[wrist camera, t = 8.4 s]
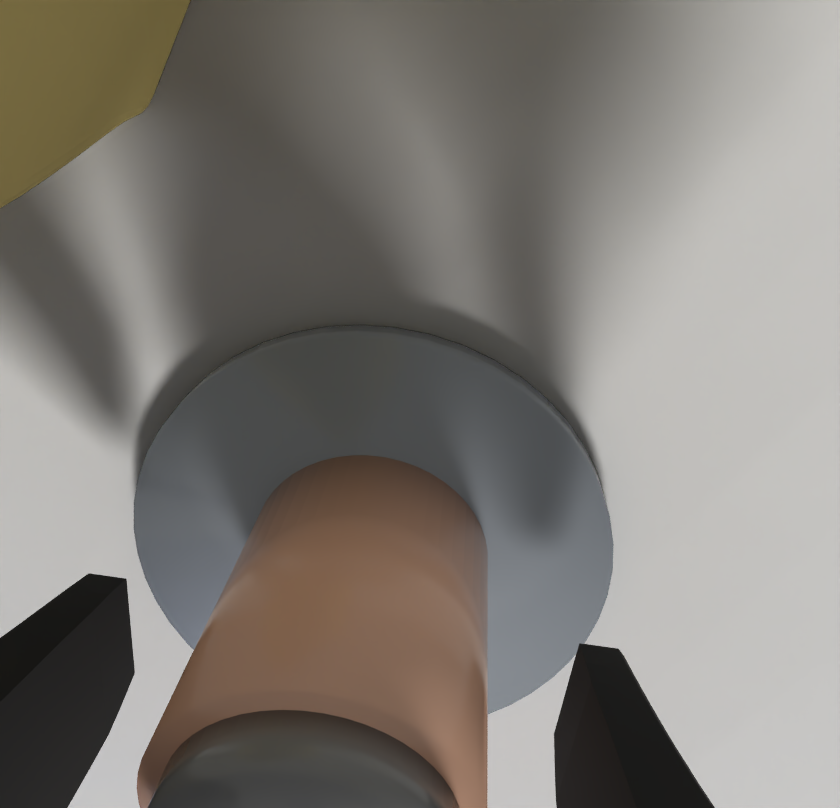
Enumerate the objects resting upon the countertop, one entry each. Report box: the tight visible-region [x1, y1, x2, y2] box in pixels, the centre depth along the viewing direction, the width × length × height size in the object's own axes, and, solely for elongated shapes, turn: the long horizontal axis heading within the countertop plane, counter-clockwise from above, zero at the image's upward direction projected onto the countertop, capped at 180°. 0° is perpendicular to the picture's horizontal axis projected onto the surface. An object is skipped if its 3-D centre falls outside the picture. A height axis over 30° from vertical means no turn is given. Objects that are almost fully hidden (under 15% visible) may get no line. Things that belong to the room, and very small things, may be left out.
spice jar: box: [137, 455, 488, 808], centre depth 11 cm, size 4×4×6 cm
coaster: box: [134, 325, 613, 714], centre depth 14 cm, size 9×9×1 cm
